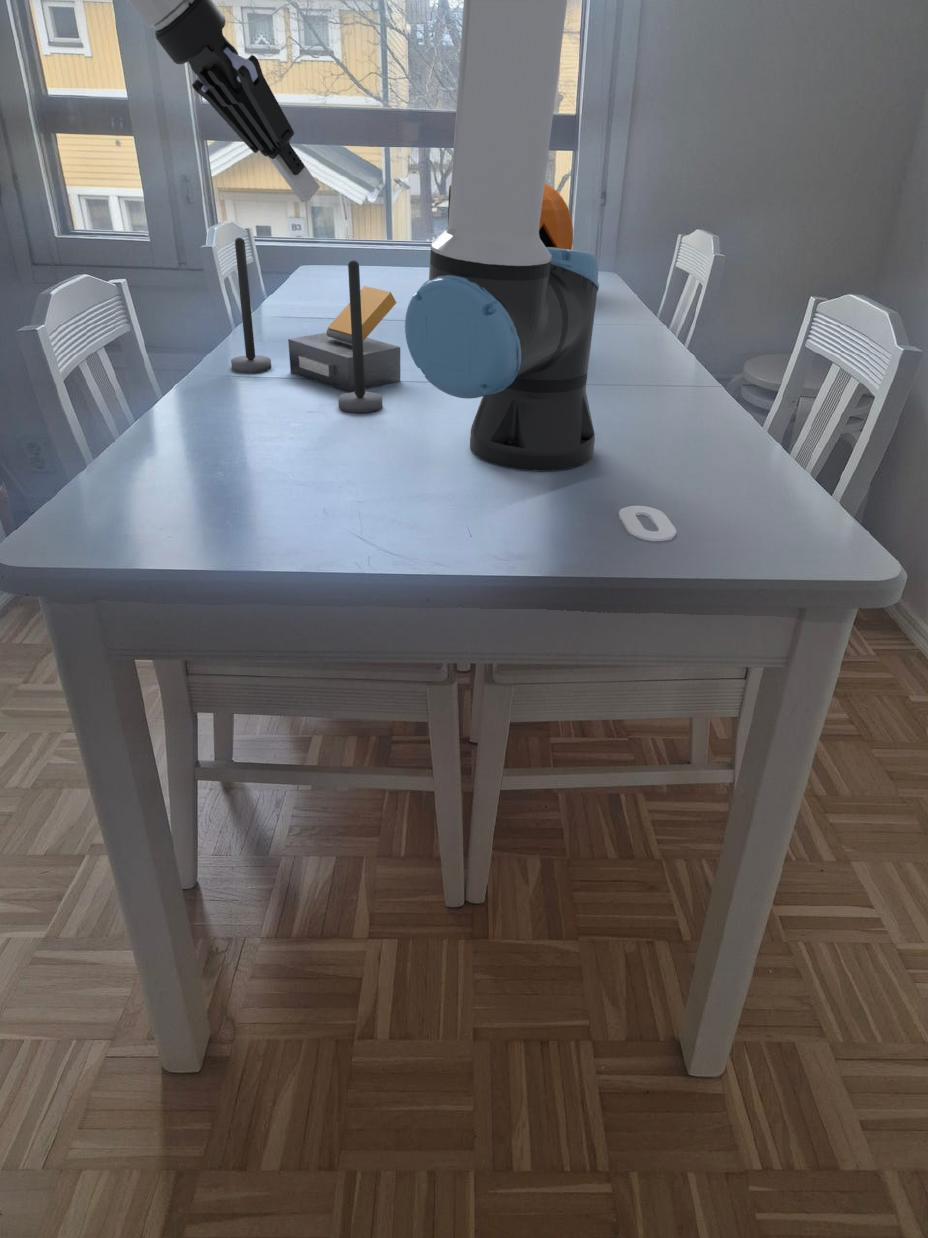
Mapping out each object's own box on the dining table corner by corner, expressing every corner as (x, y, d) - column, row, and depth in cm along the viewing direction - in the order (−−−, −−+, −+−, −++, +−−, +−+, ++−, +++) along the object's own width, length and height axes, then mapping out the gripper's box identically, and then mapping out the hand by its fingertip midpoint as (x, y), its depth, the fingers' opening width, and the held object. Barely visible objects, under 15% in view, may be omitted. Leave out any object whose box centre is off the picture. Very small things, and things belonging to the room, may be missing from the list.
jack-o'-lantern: (429, 297, 184) (431, 140, 169) (466, 278, 207) (471, 138, 192) (554, 309, 178) (568, 147, 162) (578, 288, 201) (592, 144, 185)
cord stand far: (273, 372, 129) (262, 240, 119) (232, 373, 127) (218, 240, 117) (269, 362, 133) (258, 234, 124) (230, 363, 132) (216, 234, 122)
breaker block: (344, 393, 120) (343, 358, 117) (286, 373, 128) (283, 339, 126) (400, 380, 127) (400, 346, 124) (341, 362, 135) (340, 329, 132)
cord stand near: (387, 410, 114) (382, 262, 104) (344, 414, 112) (335, 264, 102) (375, 398, 118) (370, 256, 109) (334, 402, 117) (324, 257, 107)
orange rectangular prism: (351, 338, 122) (391, 292, 124) (323, 330, 126) (363, 285, 128) (357, 348, 123) (397, 302, 126) (330, 340, 127) (369, 296, 129)
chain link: (657, 510, 89) (612, 510, 88) (658, 505, 89) (613, 505, 88) (682, 543, 82) (633, 544, 82) (683, 538, 82) (634, 539, 81)
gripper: (225, -28, 88) (356, 171, 105) (173, -3, 97) (301, 177, 114) (180, 20, 87) (320, 213, 103) (131, 41, 96) (268, 216, 112)
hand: (310, 194), depth 108 cm, fingers closed
